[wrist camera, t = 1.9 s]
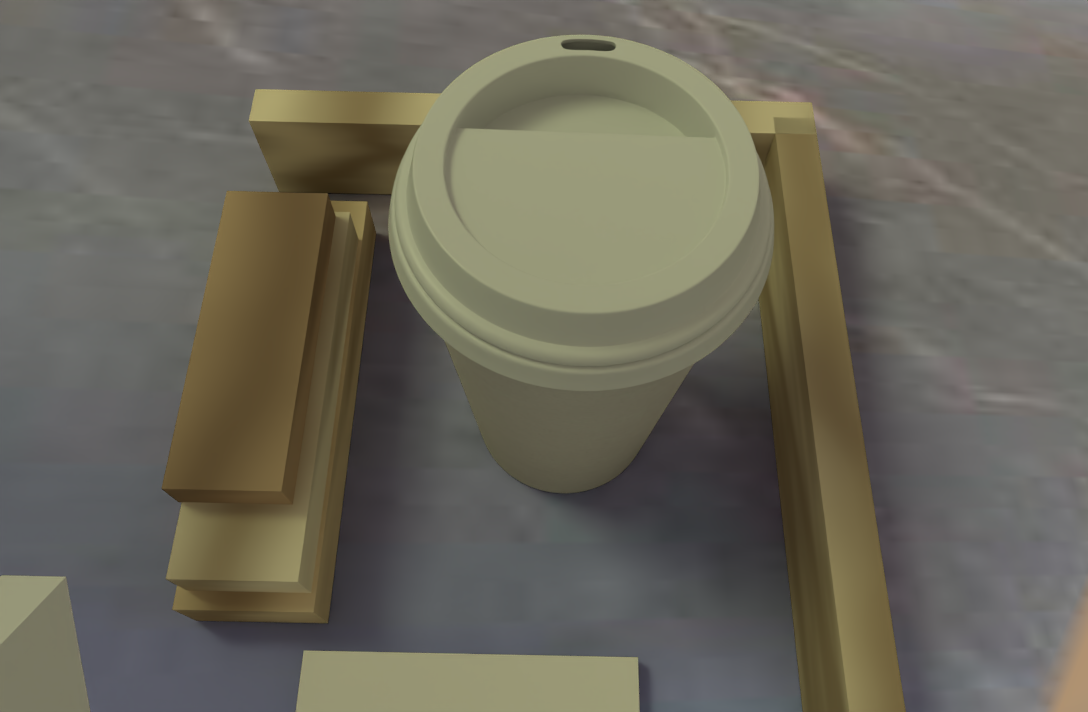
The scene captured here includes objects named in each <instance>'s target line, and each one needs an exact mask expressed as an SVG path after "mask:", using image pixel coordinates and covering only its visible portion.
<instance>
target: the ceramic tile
mask: <svg viewBox="0 0 1088 712" xmlns="http://www.w3.org/2000/svg"><path fill="white" fill-rule="evenodd" d="M296 712H639V677H638V657H596V656H546V655H497V654H447V653H398V652H348V651H304V653H303V660H302V668H301V675H300V683H299V690H298V698H297V705H296Z"/></svg>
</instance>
